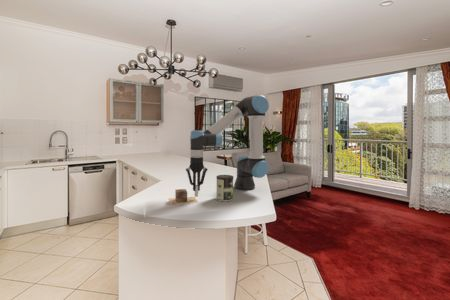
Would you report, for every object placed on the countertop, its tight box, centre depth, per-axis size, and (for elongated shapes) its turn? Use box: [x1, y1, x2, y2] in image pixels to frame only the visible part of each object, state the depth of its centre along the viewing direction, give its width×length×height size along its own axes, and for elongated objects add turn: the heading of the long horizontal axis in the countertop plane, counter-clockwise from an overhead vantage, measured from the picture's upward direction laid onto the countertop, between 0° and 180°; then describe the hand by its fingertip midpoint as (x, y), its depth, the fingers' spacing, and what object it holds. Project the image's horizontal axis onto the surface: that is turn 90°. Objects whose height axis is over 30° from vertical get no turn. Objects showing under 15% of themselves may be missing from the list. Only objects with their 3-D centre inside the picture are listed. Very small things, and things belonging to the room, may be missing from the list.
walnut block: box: [174, 188, 188, 203], centre depth 137 cm, size 6×6×6 cm
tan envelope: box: [168, 196, 199, 206], centre depth 138 cm, size 16×12×1 cm
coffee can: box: [215, 174, 234, 202], centre depth 143 cm, size 10×10×14 cm
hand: (196, 196), depth 140 cm, fingers closed
